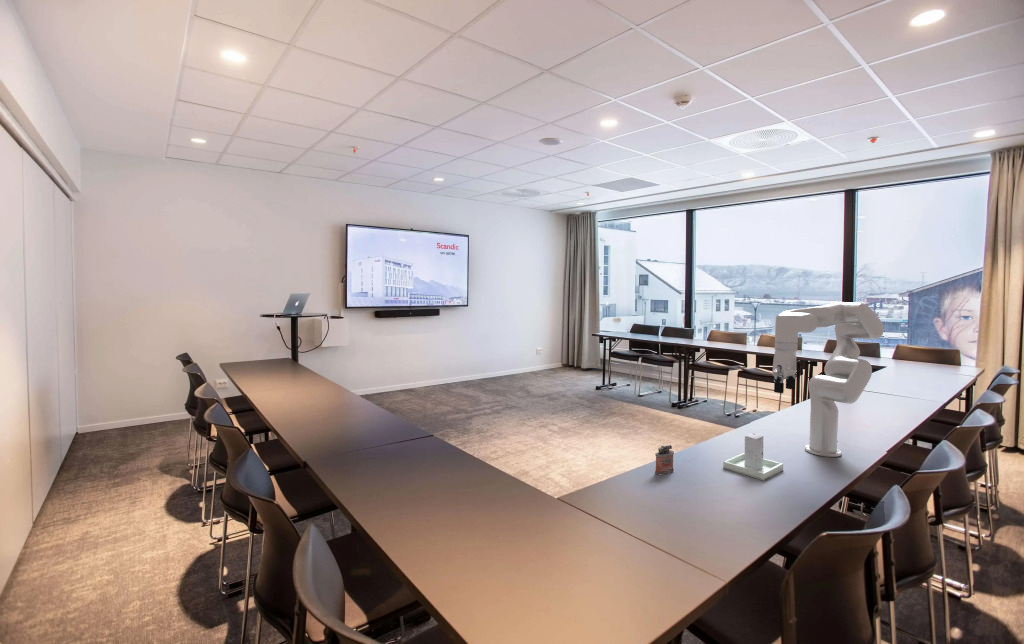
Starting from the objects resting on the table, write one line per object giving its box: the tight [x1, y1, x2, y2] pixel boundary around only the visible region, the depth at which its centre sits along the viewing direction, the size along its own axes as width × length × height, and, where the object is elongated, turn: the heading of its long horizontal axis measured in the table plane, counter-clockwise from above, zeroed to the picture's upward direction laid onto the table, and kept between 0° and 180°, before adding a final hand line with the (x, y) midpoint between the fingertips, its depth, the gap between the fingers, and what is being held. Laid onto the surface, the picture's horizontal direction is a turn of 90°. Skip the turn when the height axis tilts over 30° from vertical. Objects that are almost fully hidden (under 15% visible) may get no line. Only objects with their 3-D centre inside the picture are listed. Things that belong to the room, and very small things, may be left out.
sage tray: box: [722, 452, 784, 481], centre depth 179 cm, size 15×15×2 cm
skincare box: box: [744, 433, 764, 470], centre depth 179 cm, size 6×4×12 cm
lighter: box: [654, 444, 675, 475], centre depth 177 cm, size 8×3×10 cm, turn 117°
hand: (784, 390), depth 183 cm, fingers open, 9 cm apart
